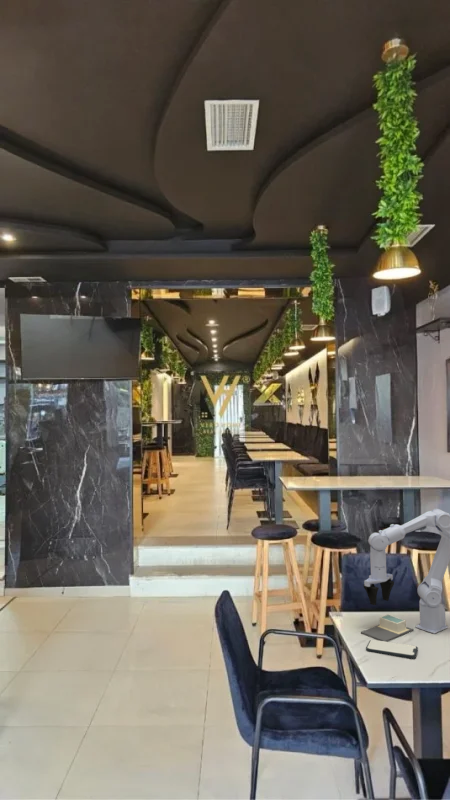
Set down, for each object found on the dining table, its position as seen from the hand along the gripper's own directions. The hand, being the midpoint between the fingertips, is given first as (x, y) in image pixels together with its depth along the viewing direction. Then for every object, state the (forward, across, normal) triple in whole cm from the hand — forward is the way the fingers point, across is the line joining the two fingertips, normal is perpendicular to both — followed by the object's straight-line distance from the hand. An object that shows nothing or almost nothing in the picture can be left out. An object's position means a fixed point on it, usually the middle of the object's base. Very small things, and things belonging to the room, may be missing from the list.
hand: (379, 602), depth 196 cm
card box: (+9, -2, +4) cm, 10 cm away
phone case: (+10, +13, +15) cm, 22 cm away
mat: (+9, +2, +4) cm, 10 cm away
